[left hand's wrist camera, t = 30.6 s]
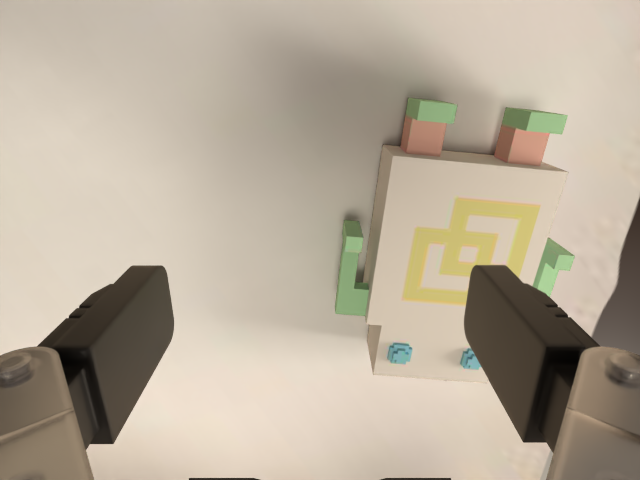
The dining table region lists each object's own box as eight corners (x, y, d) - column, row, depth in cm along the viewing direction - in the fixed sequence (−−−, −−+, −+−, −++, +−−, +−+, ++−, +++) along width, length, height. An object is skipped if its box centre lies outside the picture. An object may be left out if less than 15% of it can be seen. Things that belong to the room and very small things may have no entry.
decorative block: (532, 391, 41) (330, 376, 40) (505, 351, 47) (328, 337, 46) (628, 121, 31) (365, 95, 31) (579, 114, 37) (357, 92, 37)
